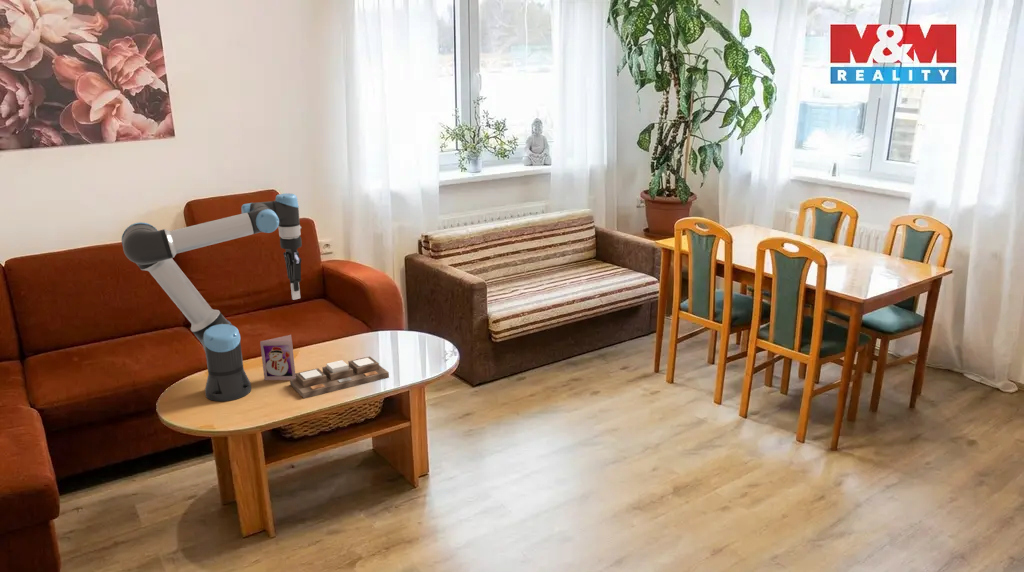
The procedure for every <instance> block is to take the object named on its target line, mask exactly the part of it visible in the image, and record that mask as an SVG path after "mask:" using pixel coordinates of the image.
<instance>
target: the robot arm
mask: <svg viewBox="0 0 1024 572" xmlns="http://www.w3.org/2000/svg"><path fill="white" fill-rule="evenodd" d="M299 208H300V207H299V201H298V196H297V195H296V194H295V193H287V192H286V193H279V194H277V195H276V196H275V199H274V200H271V201H261V202H260V201H259V202H250V203H244V204H242V205H241V213H240V214H236V215H231V216H227V217H222V218H219V219H215V220H211V221H205V222H202V223H198V224H194V225H190V226H186V227H181V228H177V229H174V230H169V229H166V228H164V229H160V230H159V229H157V228H156V227H155V226H153V225H151V224H150V223H147V222H141V221H140V222H135V223H133V224H130V225H129V226H127V227H126V228H125V229H124V231H123V233H122V236H121V244H122V251H123V253H124V255H125V257H126V258H127V259H128V260H129V261H130V262H133V263H134V264H136V266H138V268H139V269H140V270H141V271H147V272H149V274H150V275H151V276H152V278H154V280H155V281H156V282H157V284H158V285H159V286H160V287H161V289H162V290H163V291H164V292H165V293H166V294H167V296H168V297H169V298H170V300H171V301H172V302H173V303H174V304H175V305H176V307H177V308H178V309H179V310H180V312H182V314H183V315H184V317H185V318H186V319H187V320H188V322H189V323H190V324H191V327H190V331H191V332H192V334H194V336H195V337H196V338H197V340H198V341H199V342H200V344H201V345H202V347H203V350H204V353H205V360H206V365H207V374H208V375H207V380H206V384H205V388H204V394H205V398H206V399H208V400H210V401H213V400H214V402H229V401H234V400H237V399H240V398H243V397H246V396H247V395H249V393H251V391H252V385H251V381H250V379H249V377H248V375H247V373H246V371H245V369H244V360H243V353H242V345H241V334H240V332H239V329H238V327H236V326H235V325H233V324H232V323H231V321H229V320H228V319H226V317H225V316H224V315H223V314H222V312H221V311H220V310H219V309H213V308H212V307H211V306H210V304H209V302H207V301H206V299H205V298H204V297H203V296H202V294H201V292H200V291H198V289H197V288H196V287H195V286H194V284H193V283H192V282H191V280H190V279H189V278H188V277H187V275H186V274H185V273H184V272H183V271H182V269H181V268H180V266H179V265H178V264H177V262H176V261H175V260H174V259H173V258H175V256H176V255H177V254H180V253H185V252H188V251H192V250H196V249H200V248H204V247H207V246H208V247H209V246H211V245H216V244H219V243H223V242H228V241H231V240H236V239H239V238H243V237H247V236H251V235H255V234H259V233H265V234H266V233H267V234H270V233H271V234H272V233H273V232H275V231H276V230H277V229H278V235H279V246H280V248H281V249H284V250H285V251H284V252H283V257H284V261H285V267H286V274H287V279H289V283H290V290H291V291H290V292H291V293H290V294H291V300H294V301H295V300H298V299H301V289H300V282H302V258H301V257H300V253H299V251H298V249H299V248H301V247H302V246H303V244H302V243H303V241H302V237H301V235H302V234H301V232H302V231H301V229H302V226H301V224H300V209H299Z"/></svg>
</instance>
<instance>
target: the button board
mask: <svg viewBox="0 0 1024 572" xmlns="http://www.w3.org/2000/svg"><path fill="white" fill-rule="evenodd" d="M364 358H369V359H370V360H372V361H373V362H374V364H370V365H366V366H361V367H358V366H356V365H355V364H354V363H353V361H355V360H359V359H364ZM347 364H348V367H349V370H344V371H340V372H336V373H331V372H330V371H329V370H328V369H327V365H326V366H322V368H321V369H322V370H321V369H320V368H318V367H316V368H313V369H309V370H303V371H300V372H295V376H296V378H295V379H291V380H289V386H291V387H292V388H293V390H294V391H295V392H297V394H299V395H300V397H301V396H302V397H303V398H302V397H301V398H302V399H303V400H304V399H308V398H311V397H316V396H319V395H324V394H329V393H331V392H332V393H333V392H336V391H339V390H344V389H348V388H352V387H356V386H360V385H363V384H368V383H371V382H377V381H379V380H380V381H381V380H384V379H388V378H390V373H389V371H387V370H386V369H385V368H384V367H382V366H381V365H380V363H379V362H378V361H376V359H374V358H373V357H371V356H370V355H369V356H365V357H364V356H363V357H360V358H356V359H351V360H348V363H347ZM315 369H316V370H317V371H318V372H319V373H320V374H322V376H319V377H315V378H311V379H306V380H304V379H303V378H302V377H301V376H300V373H302V372H307V371H311V370H315Z"/></svg>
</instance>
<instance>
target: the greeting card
mask: <svg viewBox="0 0 1024 572" xmlns="http://www.w3.org/2000/svg"><path fill="white" fill-rule="evenodd" d="M259 344H260V352H261V353H260V354H261V361H262V370H263V379H264V381H290V380H291V379H295V378H296V375H295V373H296V367H295V358H294V348H293V338H292V334H289V335H283V336H279V337H274V338H271V339H270V338H269V339H266V340H260V343H259Z"/></svg>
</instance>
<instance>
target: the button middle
mask: <svg viewBox="0 0 1024 572" xmlns="http://www.w3.org/2000/svg"><path fill="white" fill-rule="evenodd" d="M325 365H326V366H327V369H328V370H329V371H330V372H331V373H336V372H340V371H344V370H349V367H348V366H349V363H346V362H345V361H344V360H343V359H341V360H335V361H332V362H328V363H326V364H325Z"/></svg>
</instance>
